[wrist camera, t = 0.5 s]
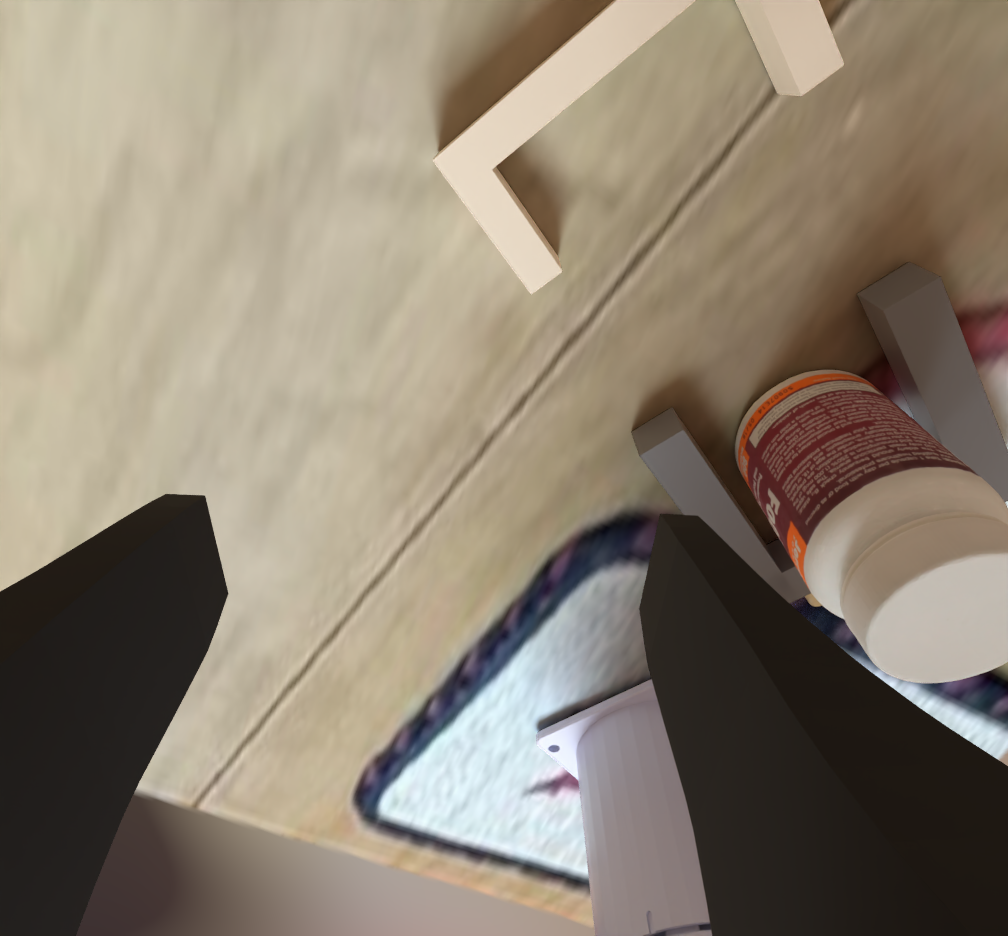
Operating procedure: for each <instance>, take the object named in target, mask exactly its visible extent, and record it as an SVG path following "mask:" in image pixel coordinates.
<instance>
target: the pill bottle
mask: <svg viewBox="0 0 1008 936" xmlns="http://www.w3.org/2000/svg"><path fill="white" fill-rule="evenodd" d="M735 457H736V462H737V465H738V468H739V470H740V472H741V475H742V476H743V478H744V479H745V481H746V483H747V485H748V486H749V488H750V490H751V491H752V493H753V495H754V497H755V499H756V501H757V502H758V504H759V505H760V507H761V509H762V510H763V512H764V514H765V515H766V517H767V519H768V521H769V522H770V524H771V526H772V528H773V529H774V531H775V533H776V534H777V536H778V538H779V539H780V541H781V543H782V544H783V546H784V547H785V549H786V551H787V553H788V555H789V556H790V558H791V559H792V561H793V562H794V564H795V566H796V568H797V570H798V571H799V573H800V575H801V577H802V578H803V580H804V582H805V583H806V585H807V587H808V588H809V590H810V592H811V593H812V595H813V596H814V597H815V598H816V599H817V601H818V602H819V603H820V604H821V605H822V606H824V607H825V608H826V609H827V610H829V611H830V612H832V613H833V614H835V615H837V616H838V617H840V618H843V619H845V621H846V624H847V625H848V627H849V629H850V630H851V631H852V633H853V634H854V635H855V637H856V638H857V640H858V641H859V643H860V644H861V646H862V647H863V649H864V650H865V652H866V653H867V655H868V656H869V658H870V659H871V661H872V662H873V663H874V664H875V665H876V666H877V667H878V668H879V669H881V670H882V671H883V672H885V673H887V674H888V675H890V676H893V677H895V678H898V679H901V680H904V681H909V682H916V683H942V682H950V681H956V680H960V679H964V678H968V677H972V676H975V675H978V674H981V673H985V672H987V671H990V670H992V669H994V668H997V667H999V666H1001V665H1003V664H1005V663H1007V662H1008V508H1007V506H1006V504H1005V502H1004V501H1003V499H1002V498H1001V496H1000V495H999V494H998V493H997V492H996V491H995V490H994V489H993V488H992V487H991V486H990V485H989V484H988V483H987V482H986V481H985V480H984V479H982V478H981V477H980V476H979V475H978V474H977V473H976V472H974V471H973V470H972V469H971V468H970V467H969V466H968V465H966V464H965V463H964V462H962V461H961V460H960V459H958V458H957V457H956V456H955V455H954V454H953V453H951V452H950V451H949V450H948V449H947V448H946V447H945V446H943V445H942V444H941V443H940V442H939V441H937V440H936V439H935V438H934V437H933V436H932V435H931V434H930V433H928V432H927V431H926V430H925V429H924V428H922V427H921V426H920V425H919V424H918V423H917V422H916V421H915V420H913V419H912V418H911V417H909V416H908V415H907V414H906V413H905V412H904V411H903V410H902V409H900V408H899V407H898V406H897V405H896V404H894V403H893V402H892V401H891V400H890V399H888V398H887V397H886V396H885V395H884V394H883V393H882V392H881V391H880V390H878V389H877V388H876V387H875V386H874V385H872V384H871V383H870V382H868V381H867V380H865V379H864V378H862V377H860V376H857V375H855V374H852V373H850V372H845V371H840V370H816V371H809V372H805V373H802V374H799V375H796V376H794V377H791V378H789V379H787V380H785V381H784V382H781V383H779V384H778V385H777V386H775V387H773V388H772V389H770V390H769V391H767V392H766V393H765V394H764V395H762V396H761V397H760V398H759V399H758V400H757V401H756V402H755V403H754V404H753V405H752V406H751V408H750V409H749V410H748V412H747V413H746V414H745V416H744V418H743V420H742V422H741V424H740V427H739V429H738V433H737V436H736V442H735Z"/></svg>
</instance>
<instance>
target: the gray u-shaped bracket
mask: <svg viewBox="0 0 1008 936" xmlns="http://www.w3.org/2000/svg"><path fill="white" fill-rule="evenodd" d="M857 295H858V297H859V299H860V302H861V304H862V306H863V308H864V310H865V312H866V315H867V317H868V319H869V321H870V323H871V325H872V328H873V330H874V332H875V334H876V336H877V338H878V341H879V343H880V345H881V347H882V349H883V351H884V353H885V356H886V358H887V360H888V362H889V364H890V366H891V369H892V371H893V373H894V375H895V377H896V379H897V382H898V384H899V386H900V388H901V390H902V392H903V395H904V397H905V399H906V401H907V403H908V405H909V408H910V410H911V412H912V414H913V416H914V418H915V421H916V422H917V423H918V424H919V425H920V426H921V427H922V428H924V429H925V430H926V431H927V432H928V433H930V434H931V435H932V436H933V437H934V438H935V439H936V440H937V441H939V442H940V443H941V444H942V445H943V446H945V447H946V448H947V449H948V450H949V451H950V452H951V453H953V454H954V455H955V456H956V457H957V458H958V459H960V460H961V461H962V462H964V463H965V464H966V465H968V466H969V467H970V468H971V469H972V470H973V471H974V472H976V473H977V474H978V475H979V476H980V477H981V478H982V479H984V480H985V481H986V482H987V483H988V484H989V485H990V486H991V487H992V488H993V489H994V490H995V491H996V492H997V493H998V494H999V495H1000V496H1001V498H1002V499H1003V501H1004V502H1006V501H1008V450H1007V448H1006V445H1005V442H1004V440H1003V437H1002V435H1001V432H1000V429H999V427H998V424H997V422H996V419H995V416H994V414H993V411H992V409H991V406H990V404H989V401H988V398H987V396H986V393H985V391H984V388H983V385H982V383H981V380H980V378H979V375H978V372H977V370H976V367H975V365H974V362H973V360H972V357H971V354H970V352H969V349H968V347H967V344H966V341H965V339H964V336H963V334H962V331H961V328H960V326H959V323H958V321H957V318H956V316H955V313H954V310H953V308H952V305H951V303H950V300H949V297H948V295H947V292H946V290H945V287H944V284H943V282H942V279H941V277H940V276H938V275H936V274H934V273H932V272H930V271H928V270H925V269H923V268H921V267H919V266H917V265H915V264H913V263H911V262H908V263H906V264H905V265H903V266H902V267H900V268H898V269H897V270H895V271H893V272H892V273H890V274H889V275H887V276H885V277H884V278H882V279H880V280H879V281H877V282H875V283H874V284H872V285H871V286H869V287H867V288H866V289H864V290H862V291H861V292H859V293H857ZM631 433H632V436H633V439H634V441H635V444H636V447H637V450H638V453H639V456H640V457H641V458H642V460H643V461H644V462H645V464H646V465H647V467H648V468H649V469H650V471H651V472H652V473H653V475H654V476H655V477H656V479H657V480H658V481H659V483H660V484H661V485H662V487H663V488H664V489H665V491H666V492H667V493H668V495H669V496H670V497H671V499H672V500H673V501H674V503H675V504H676V505H677V507H678V508H679V509H680V511H681V512H682V513H683V515H696V516H699V517H700V518H701V519H702V520H703V521H704V522H705V523H707V524H708V525H709V526H710V527H711V528H712V529H713V530H714V531H715V532H716V533H717V534H718V535H719V536H720V537H721V538H722V539H723V540H724V541H725V542H726V543H727V544H728V545H729V546H730V547H731V548H732V549H733V550H734V551H735V552H736V553H737V554H738V555H739V556H740V557H741V558H742V559H743V560H744V561H745V562H746V563H747V564H748V565H749V566H750V567H751V568H752V569H753V570H754V571H755V572H756V573H758V574H759V575H760V576H761V577H762V578H763V579H764V580H765V581H766V582H767V583H768V584H769V585H770V586H771V587H772V588H773V589H774V590H775V591H776V592H777V593H779V594H780V595H781V596H782V597H783V598H784V599H785V600H786V601H787V602H788V603H792V602H794V601H796V600H798V599H800V598H802V597H804V596H805V598H806V599H807V601H808V602H809V604H810V605H812V606H815V607H818V606H822V605H821V604H820V603H819V602H818V601H817V599H816V598H815V597H814V596H813V595H812V593H811V592H810V590H809V588H808V587H807V585H806V583H805V582H804V580H803V578H802V577H801V575H800V573H799V571H798V570H797V568H796V566H795V564H794V562H793V561H792V559H791V558H790V556H789V555H788V553H787V551H786V549H785V547H784V546H783V544H782V543H781V541H780V539H778V540H776V541H774V542H772V543H770V544H768V545H766V544H765V543H764V541H763V540H762V538H761V537H760V535H759V534H758V532H757V531H756V529H755V528H754V526H753V525H752V523H751V522H750V521H749V519H748V518H747V516H746V515H745V513H744V512H743V510H742V509H741V507H740V506H739V504H738V503H737V501H736V500H735V499H734V497H733V496H732V494H731V493H730V491H729V490H728V488H727V487H726V485H725V484H724V482H723V481H722V479H721V478H720V477H719V475H718V474H717V472H716V471H715V469H714V468H713V466H712V465H711V463H710V462H709V460H708V459H707V457H706V456H705V455H704V453H703V452H702V450H701V449H700V447H699V446H698V444H697V443H696V441H695V440H694V438H693V437H692V435H691V434H690V433H689V431H688V430H687V428H686V427H685V425H684V424H683V422H682V421H681V419H680V418H679V416H678V415H677V413H676V412H675V411H674V409H673V408H672V407H671V408H670V409H668V410H666V411H665V412H663V413H661V414H660V415H658V416H657V417H655V418H653V419H652V420H650V421H648V422H647V423H645V424H643V425H642V426H640V427H639V428H637V429H635V430H634V431H632V432H631Z"/></svg>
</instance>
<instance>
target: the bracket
mask: <svg viewBox="0 0 1008 936" xmlns="http://www.w3.org/2000/svg"><path fill="white" fill-rule="evenodd" d="M695 1H696V0H614V1H612V2H611V3H610V4H609V5H608V6H607V7H605V8H604V9H603V10H602V11H601V12H600V13H599V14H597V15H596V16H595V17H594V18H593V19H592V20H591V21H589V22H588V23H587V24H586V25H585V26H584V27H582V28H581V29H580V30H579V31H578V32H577V33H576V34H574V35H573V36H572V37H571V38H570V39H569V40H568V41H566V42H565V43H564V44H563V45H562V46H561V47H559V48H558V49H557V50H556V51H555V52H554V53H553V54H551V55H550V56H549V57H548V58H547V59H546V60H545V61H543V62H542V63H541V64H540V65H539V66H538V67H536V68H535V69H534V70H533V71H532V72H531V73H530V74H528V75H527V76H526V77H525V78H524V79H523V80H522V81H520V82H519V83H518V84H517V85H516V86H515V87H513V88H512V89H511V90H510V91H509V92H508V93H507V94H505V95H504V96H503V97H502V98H501V99H500V100H499V101H497V102H496V103H495V104H494V105H493V106H492V107H490V108H489V109H488V110H487V111H486V112H485V113H484V114H482V115H481V116H480V117H479V118H478V119H477V120H476V121H474V122H473V123H472V124H471V125H470V126H469V127H467V128H466V129H465V130H464V131H463V132H462V133H461V134H459V135H458V136H457V137H456V138H455V139H454V140H453V141H451V142H450V143H449V144H448V145H447V146H446V147H444V148H443V149H442V150H441V151H440V152H439V153H438V154H437V155H436V156H435V158H434V159H433V160H432V161H433V162H434V163H435V165H436V166H437V167H438V169H439V170H440V171H441V173H442V174H443V175H444V177H445V178H446V180H447V181H448V182H449V184H450V185H451V186H452V188H453V189H454V190H455V192H456V193H457V194H458V196H459V197H460V199H461V200H462V201H463V203H464V204H465V205H466V207H467V208H468V209H469V211H470V212H471V213H472V215H473V216H474V218H475V219H476V220H477V222H478V223H479V224H480V226H481V227H482V228H483V230H484V231H485V233H486V234H487V235H488V237H489V238H490V239H491V241H492V242H493V243H494V245H495V246H496V247H497V249H498V250H499V252H500V253H501V254H502V256H503V257H504V258H505V260H506V261H507V262H508V264H509V265H510V266H511V268H512V269H513V271H514V272H515V273H516V275H517V276H518V277H519V279H520V280H521V281H522V283H523V284H524V286H525V287H526V288H527V290H528V291H529V292H530V294H533V293H534V292H535V291H537V290H538V289H540V288H541V287H542V286H544V285H545V284H546V283H548V282H549V281H550V280H552V279H553V278H555V277H556V276H557V275H559V274H560V273H561V272H563V271H562V267H561V264H560V261H559V257H558V256H557V254H556V253H555V251H554V250H553V248H552V247H551V245H550V244H549V243H548V241H547V240H546V238H545V237H544V235H543V234H542V232H541V231H540V229H539V228H538V227H537V225H536V224H535V222H534V221H533V219H532V218H531V216H530V215H529V214H528V212H527V211H526V209H525V208H524V206H523V205H522V203H521V202H520V201H519V199H518V198H517V196H516V195H515V193H514V192H513V190H512V189H511V188H510V186H509V185H508V183H507V182H506V180H505V179H504V177H503V176H502V175H501V173H500V172H499V170H498V169H497V167H496V166H497V165H498V164H499V163H500V162H502V161H503V160H504V159H505V158H506V157H508V156H509V155H510V154H511V153H513V152H514V151H515V150H516V149H517V148H519V147H520V146H521V145H522V144H523V143H525V142H526V141H527V140H528V139H529V138H531V137H532V136H533V135H534V134H535V133H537V132H538V131H539V130H540V129H541V128H543V127H544V126H545V125H546V124H547V123H549V122H550V121H551V120H552V119H553V118H555V117H556V116H557V115H558V114H560V113H561V112H562V111H563V110H564V109H566V108H567V107H568V106H569V105H570V104H572V103H573V102H574V101H575V100H576V99H578V98H579V97H580V96H581V95H582V94H584V93H585V92H586V91H587V90H588V89H590V88H591V87H592V86H593V85H594V84H596V83H597V82H598V81H599V80H601V79H602V78H603V77H604V76H605V75H607V74H608V73H609V72H610V71H611V70H613V69H614V68H615V67H616V66H617V65H619V64H620V63H621V62H622V61H623V60H625V59H626V58H627V57H628V56H629V55H631V54H632V53H633V52H634V51H635V50H637V49H638V48H639V47H640V46H641V45H643V44H644V43H645V42H646V41H648V40H649V39H650V38H651V37H652V36H654V35H655V34H656V33H657V32H658V31H660V30H661V29H662V28H663V27H664V26H666V25H667V24H668V23H669V22H670V21H672V20H673V19H674V18H675V17H676V16H678V15H679V14H680V13H681V12H682V11H684V10H685V9H686V8H687V7H688V6H690V5H691V4H692V3H693V2H695ZM735 2H736V4H737V6H738V8H739V10H740V13H741V15H742V17H743V19H744V21H745V24H746V26H747V28H748V30H749V32H750V35H751V37H752V39H753V41H754V44H755V46H756V48H757V50H758V52H759V55H760V57H761V59H762V61H763V63H764V66H765V68H766V70H767V72H768V74H769V77H770V79H771V81H772V83H773V85H774V88H775V90H776V92H777V94H783V95H793V96H803V95H804V94H805V93H807V92H808V91H810V90H811V89H812V88H814V87H815V86H816V85H818V84H819V83H820V82H822V81H823V80H825V79H826V78H827V77H829V76H830V75H831V74H833V73H834V72H835V71H837V70H838V69H840V68H841V67H842V66H844V62H843V60H842V57H841V55H840V52H839V50H838V47H837V45H836V42H835V40H834V37H833V35H832V32H831V29H830V27H829V24H828V22H827V19H826V17H825V14H824V12H823V9H822V7H821V4H820V2H819V0H735Z"/></svg>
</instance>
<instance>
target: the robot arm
mask: <svg viewBox="0 0 1008 936" xmlns="http://www.w3.org/2000/svg"><path fill="white" fill-rule="evenodd" d="M227 596H228V590H227V586H226V582H225V578H224V574H223V569H222V565H221V561H220V557H219V552H218V548H217V544H216V540H215V536H214V531H213V527H212V523H211V519H210V515H209V510H208V506H207V502H206V498H205V496H202V495H177V494H165V495H163V496H161V497H159V498H157V499H155V500H154V501H152V502H150V503H148V504H146V505H145V506H143V507H141V508H140V509H138V510H136V511H134V512H133V513H131V514H129V515H128V516H126V517H124V518H123V519H121V520H120V521H118V522H116V523H115V524H113V525H111V526H110V527H108V528H106V529H105V530H103V531H102V532H100V533H98V534H97V535H95V536H94V537H92V538H90V539H89V540H87V541H85V542H84V543H82V544H80V545H79V546H77V547H75V548H74V549H72V550H71V551H69V552H67V553H66V554H64V555H62V556H61V557H59V558H57V559H56V560H54V561H52V562H51V563H49V564H48V565H46V566H44V567H43V568H41V569H39V570H38V571H36V572H34V573H32V574H31V575H29V576H27V577H25V578H24V579H22V580H20V581H18V582H17V583H15V584H13V585H11V586H9V587H8V588H6V589H4V590H2V591H1V592H0V936H76V934H77V931H78V928H79V926H80V923H81V920H82V918H83V914H84V912H85V910H86V907H87V905H88V901H89V899H90V897H91V894H92V891H93V889H94V886H95V883H96V881H97V879H98V876H99V874H100V871H101V869H102V866H103V864H104V861H105V859H106V856H107V854H108V852H109V849H110V847H111V844H112V842H113V839H114V837H115V834H116V832H117V830H118V827H119V824H120V822H121V820H122V817H123V815H124V813H125V811H126V809H127V807H128V804H129V802H130V800H131V798H132V796H133V794H134V792H135V790H136V788H137V786H138V783H139V781H140V780H141V778H142V776H143V774H144V772H145V770H146V768H147V766H148V764H149V763H150V761H151V759H152V757H153V755H154V753H155V751H156V749H157V747H158V745H159V744H160V742H161V740H162V738H163V736H164V734H165V732H166V730H167V728H168V726H169V725H170V723H171V721H172V719H173V717H174V715H175V713H176V711H177V709H178V708H179V706H180V704H181V702H182V700H183V698H184V696H185V694H186V692H187V690H188V688H189V686H190V685H191V683H192V681H193V679H194V677H195V675H196V673H197V671H198V669H199V667H200V665H201V663H202V661H203V659H204V657H205V655H206V653H207V651H208V649H209V646H210V643H211V641H212V638H213V636H214V633H215V630H216V628H217V625H218V622H219V619H220V616H221V613H222V610H223V607H224V604H225V601H226V599H227ZM639 609H640V616H641V624H642V631H643V638H644V644H645V651H646V657H647V663H648V668H649V671H650V675H651V679H650V680H648V681H646V682H644V683H642V684H640V685H637V686H635V687H633V688H631V689H629V690H627V691H625V692H622V693H620V694H618V695H616V696H614V697H612V698H609V699H607V700H605V701H603V702H601V703H599V704H597V705H594V706H592V707H590V708H588V709H586V710H584V711H581V712H579V713H577V714H575V715H573V716H571V717H569V718H566V719H564V720H562V721H560V722H558V723H556V724H553V725H551V726H549V727H547V728H545V729H543V730H541V731H539V732H538V733H537V735H536V742H537V745H538V746H539V747H540V748H541V749H542V750H543V751H544V752H546V753H547V754H548V755H549V756H550V757H552V758H553V759H554V760H555V761H556V762H557V763H559V764H560V765H561V766H562V767H563V768H564V769H566V770H567V771H568V772H569V773H570V774H572V775H573V776H574V777H575V778H576V779H577V780H579V789H580V798H581V807H582V817H583V826H584V835H585V845H586V854H587V863H588V873H589V882H590V892H591V901H592V910H593V920H594V929H595V936H1008V766H1007V765H1005V764H1004V763H1002V762H1000V761H999V760H997V759H996V758H994V757H993V756H991V755H990V754H988V753H987V752H985V751H983V750H982V749H980V748H979V747H977V746H976V745H974V744H973V743H971V742H970V741H968V740H966V739H965V738H963V737H962V736H960V735H959V734H957V733H956V732H954V731H952V730H951V729H949V728H948V727H946V726H945V725H944V724H942V723H941V722H939V721H938V720H936V719H935V718H933V717H932V716H930V715H929V714H928V713H926V712H925V711H923V710H922V709H920V708H919V707H917V706H916V705H915V704H913V703H912V702H911V701H909V700H908V699H907V698H905V697H904V696H903V695H901V694H900V693H898V692H897V691H896V690H894V689H893V688H892V687H890V686H889V685H888V684H886V683H885V682H884V681H882V680H881V679H880V678H878V677H877V676H875V675H874V674H873V673H871V672H870V671H869V670H868V669H866V668H865V667H864V666H862V665H861V664H860V663H859V662H857V661H856V660H855V659H854V658H852V657H851V656H850V655H849V654H847V653H846V652H845V651H844V650H843V649H841V648H840V647H839V646H838V645H837V644H835V643H834V642H833V641H832V640H831V639H830V638H828V637H827V636H826V635H825V634H824V633H822V632H821V631H820V630H819V629H818V628H816V627H815V626H814V625H813V624H812V623H811V622H809V621H808V620H807V619H806V618H805V617H804V616H803V615H802V614H800V613H799V612H798V611H797V610H796V609H795V608H794V607H793V606H792V605H790V604H789V603H788V602H787V601H786V600H785V599H784V598H783V597H782V596H781V595H780V594H779V593H777V592H776V591H775V590H774V589H773V588H772V587H771V586H770V585H769V584H768V583H767V582H766V581H765V580H764V579H763V578H762V577H761V576H760V575H759V574H758V573H756V572H755V571H754V570H753V569H752V568H751V567H750V566H749V565H748V564H747V563H746V562H745V561H744V560H743V559H742V558H741V557H740V556H739V555H738V554H737V553H736V552H735V551H734V550H733V549H732V548H731V547H730V546H729V545H728V544H727V543H726V542H725V541H724V540H723V539H722V538H721V537H720V536H719V535H718V534H717V533H716V532H715V531H714V530H713V529H712V528H711V527H710V526H709V525H708V524H707V523H705V522H704V521H703V520H702V519H701V518H700V517H699V516H696V515H671V514H660V516H659V521H658V525H657V530H656V535H655V539H654V544H653V548H652V553H651V558H650V562H649V567H648V571H647V576H646V581H645V585H644V590H643V594H642V599H641V604H640V608H639Z"/></svg>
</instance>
